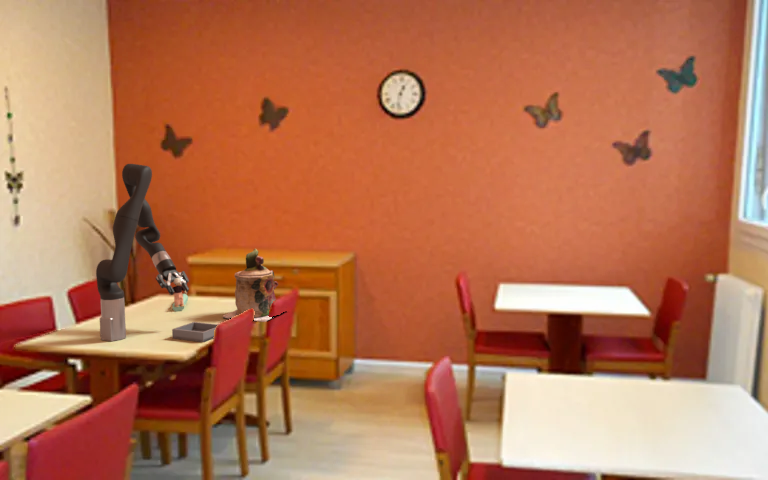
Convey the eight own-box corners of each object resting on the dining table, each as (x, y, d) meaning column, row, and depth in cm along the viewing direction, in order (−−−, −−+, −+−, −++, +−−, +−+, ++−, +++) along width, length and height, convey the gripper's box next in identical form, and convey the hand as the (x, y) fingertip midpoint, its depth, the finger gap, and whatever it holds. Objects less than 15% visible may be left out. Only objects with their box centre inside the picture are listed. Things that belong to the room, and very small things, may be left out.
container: (180, 290, 358) (174, 298, 334) (191, 294, 359) (186, 302, 335) (176, 300, 358) (170, 309, 334) (187, 304, 360) (181, 313, 335)
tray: (203, 342, 276) (203, 332, 276) (172, 338, 283) (172, 329, 282) (224, 334, 289) (224, 325, 289) (194, 330, 295) (193, 321, 295)
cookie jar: (220, 319, 318) (218, 251, 314) (246, 308, 341) (244, 245, 337) (267, 322, 310) (266, 253, 307) (290, 311, 334) (289, 247, 330)
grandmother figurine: (184, 304, 300) (183, 276, 299) (188, 305, 297) (187, 277, 296) (167, 306, 295) (167, 278, 293) (171, 308, 292) (170, 279, 291)
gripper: (152, 259, 293) (169, 289, 287) (180, 256, 304) (197, 285, 298) (146, 270, 297) (162, 300, 291) (174, 267, 308) (190, 295, 302)
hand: (180, 292), depth 294 cm, fingers closed on grandmother figurine, 6 cm apart
